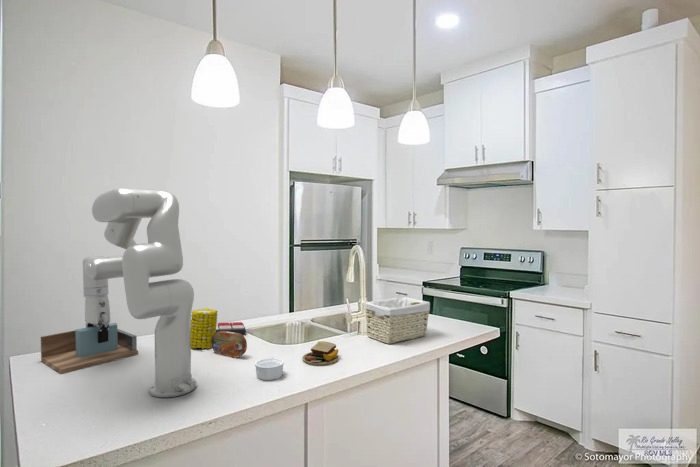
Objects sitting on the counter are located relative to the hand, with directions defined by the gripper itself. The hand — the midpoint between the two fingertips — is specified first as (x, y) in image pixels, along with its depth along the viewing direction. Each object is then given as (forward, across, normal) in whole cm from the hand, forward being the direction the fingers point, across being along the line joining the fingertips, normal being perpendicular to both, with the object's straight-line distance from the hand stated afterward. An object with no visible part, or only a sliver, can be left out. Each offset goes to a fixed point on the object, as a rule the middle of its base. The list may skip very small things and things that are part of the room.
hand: (97, 339), depth 148 cm
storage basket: (+7, -70, -88) cm, 112 cm away
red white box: (+7, -11, -46) cm, 48 cm away
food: (+6, -19, -30) cm, 36 cm away
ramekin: (+7, -61, -26) cm, 66 cm away
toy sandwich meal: (+7, -63, -47) cm, 79 cm away
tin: (+7, -35, -30) cm, 46 cm away
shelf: (+6, 0, +2) cm, 6 cm away
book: (+4, 0, 0) cm, 4 cm away
